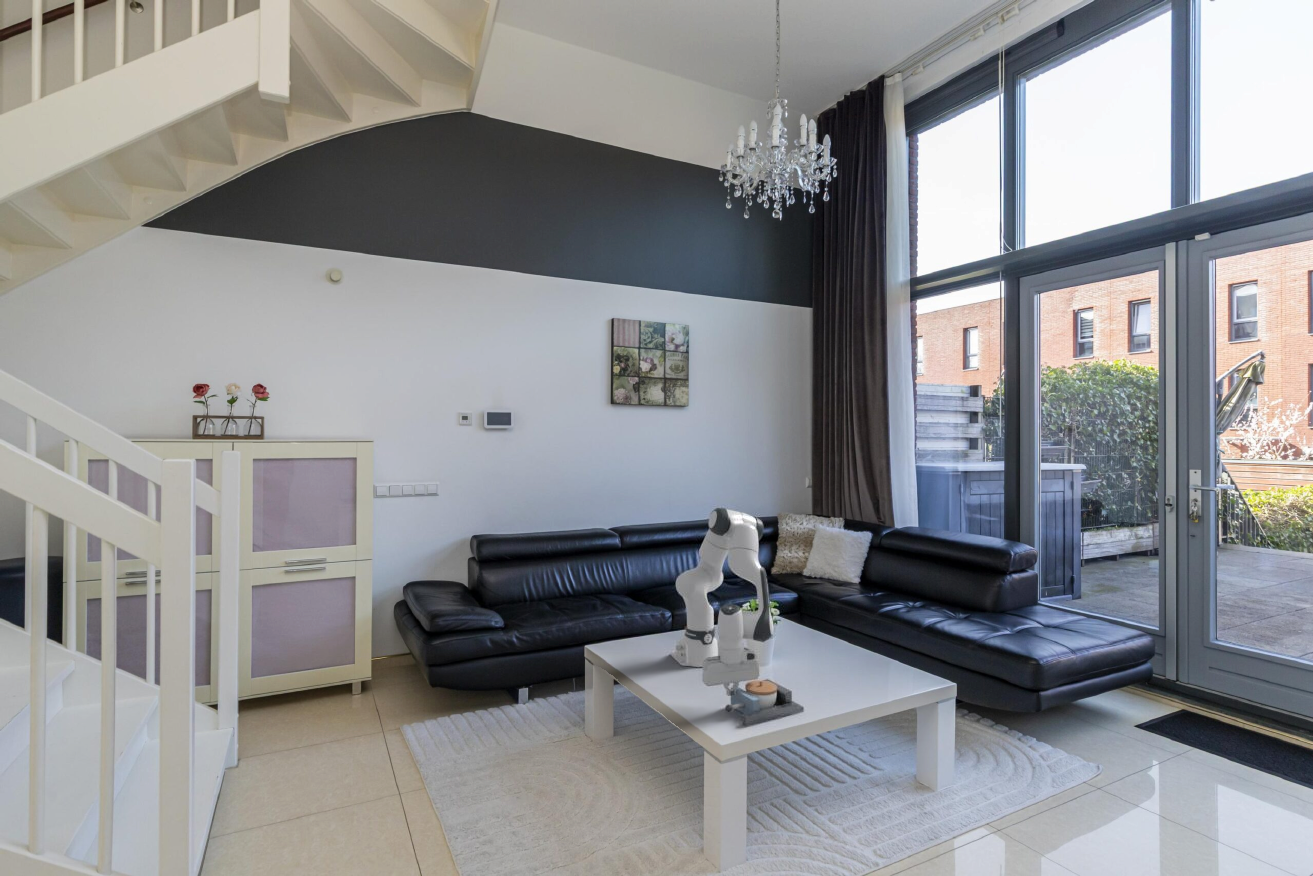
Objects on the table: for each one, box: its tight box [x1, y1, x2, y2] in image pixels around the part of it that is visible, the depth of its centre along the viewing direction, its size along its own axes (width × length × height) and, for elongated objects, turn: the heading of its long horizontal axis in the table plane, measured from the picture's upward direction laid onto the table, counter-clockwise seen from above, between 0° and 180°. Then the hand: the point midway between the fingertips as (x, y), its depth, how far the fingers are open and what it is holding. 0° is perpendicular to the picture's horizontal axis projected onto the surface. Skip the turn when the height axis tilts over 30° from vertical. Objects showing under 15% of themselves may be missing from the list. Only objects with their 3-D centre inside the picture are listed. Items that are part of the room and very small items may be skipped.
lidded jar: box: [745, 680, 777, 710], centre depth 224 cm, size 11×11×9 cm
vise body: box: [741, 678, 805, 728], centre depth 223 cm, size 16×24×6 cm, turn 118°
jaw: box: [725, 686, 760, 715], centre depth 220 cm, size 13×10×6 cm
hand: (731, 695), depth 224 cm, fingers closed
